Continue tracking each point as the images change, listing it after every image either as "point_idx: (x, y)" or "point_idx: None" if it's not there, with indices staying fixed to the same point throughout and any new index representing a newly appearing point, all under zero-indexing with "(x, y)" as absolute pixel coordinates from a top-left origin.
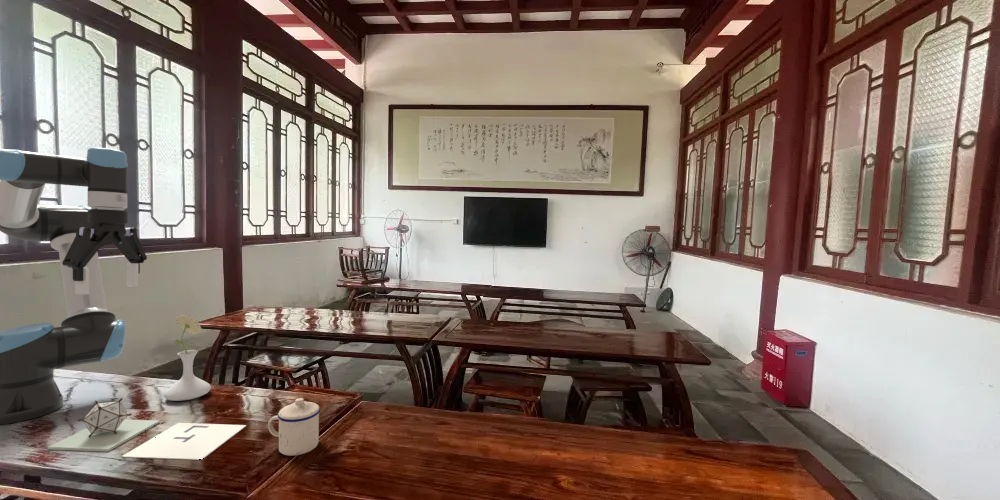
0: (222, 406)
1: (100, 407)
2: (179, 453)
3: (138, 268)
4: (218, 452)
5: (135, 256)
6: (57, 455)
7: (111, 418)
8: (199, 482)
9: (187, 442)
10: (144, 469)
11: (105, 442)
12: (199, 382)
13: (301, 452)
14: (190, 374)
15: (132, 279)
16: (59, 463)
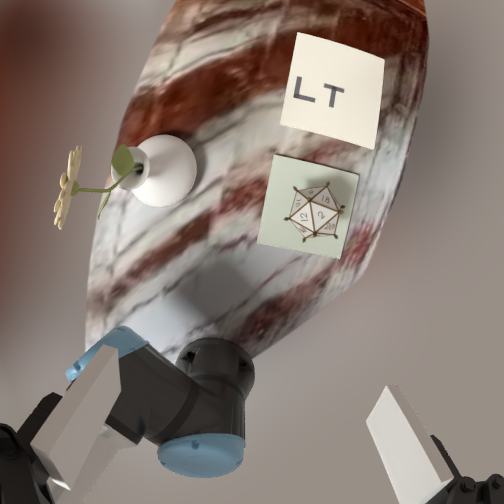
0: (215, 89)
1: (342, 210)
2: (372, 85)
3: (38, 418)
4: (367, 47)
5: (24, 499)
6: (357, 233)
7: (332, 194)
8: (419, 54)
9: (345, 85)
10: (400, 111)
11: (339, 191)
12: (157, 147)
13: None
14: (153, 162)
15: (103, 392)
16: (377, 216)
